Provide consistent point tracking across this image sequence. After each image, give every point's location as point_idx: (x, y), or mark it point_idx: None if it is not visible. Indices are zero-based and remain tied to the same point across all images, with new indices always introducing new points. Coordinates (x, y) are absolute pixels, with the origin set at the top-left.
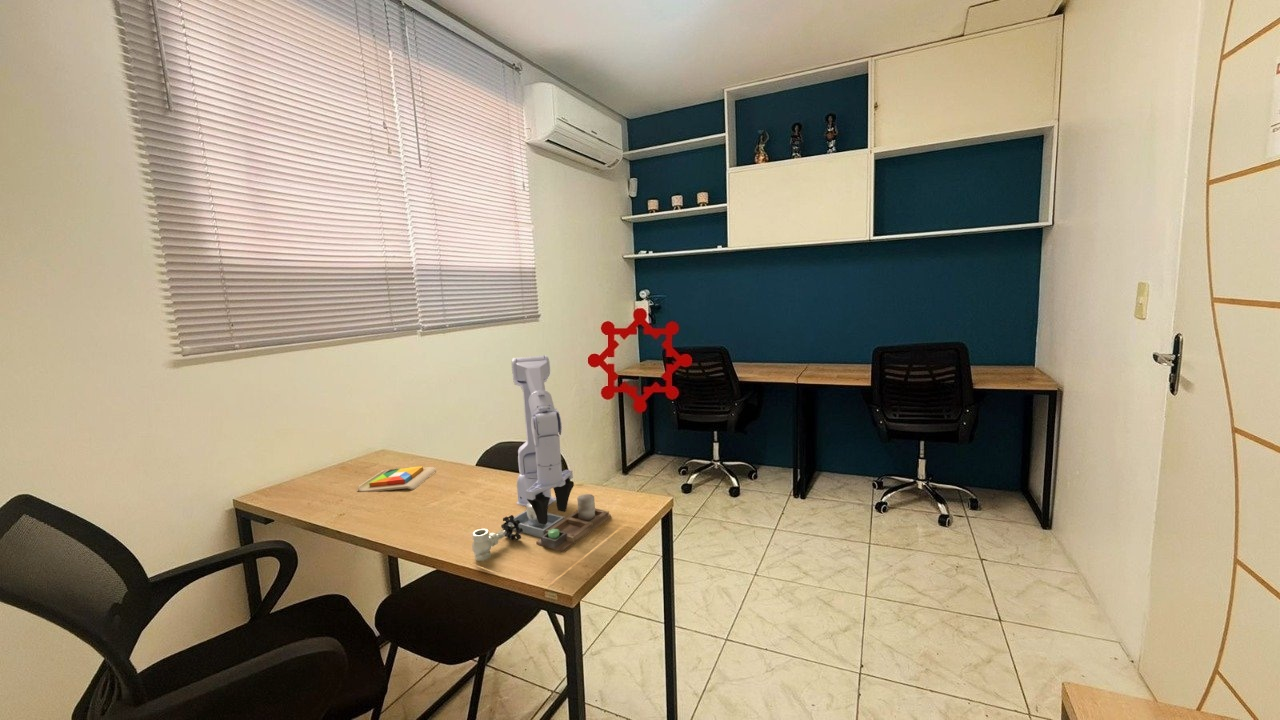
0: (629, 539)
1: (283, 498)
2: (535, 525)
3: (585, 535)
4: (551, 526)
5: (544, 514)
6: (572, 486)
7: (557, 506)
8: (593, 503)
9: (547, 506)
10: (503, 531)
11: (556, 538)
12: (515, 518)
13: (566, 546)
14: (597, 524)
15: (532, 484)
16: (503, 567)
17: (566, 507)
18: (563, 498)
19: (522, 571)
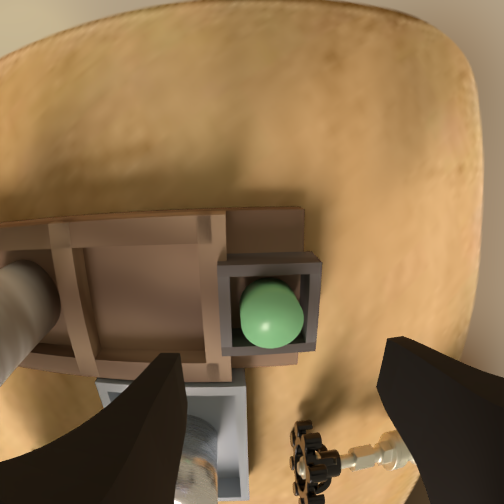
0: (67, 32)
1: None
2: (208, 437)
3: (123, 213)
4: (187, 383)
5: (464, 365)
6: (1, 475)
7: (185, 427)
8: None
9: (486, 396)
10: (349, 465)
11: (280, 283)
12: (219, 495)
13: (273, 214)
14: (33, 221)
15: None
16: (442, 335)
17: (153, 365)
18: (155, 442)
19: (448, 265)
